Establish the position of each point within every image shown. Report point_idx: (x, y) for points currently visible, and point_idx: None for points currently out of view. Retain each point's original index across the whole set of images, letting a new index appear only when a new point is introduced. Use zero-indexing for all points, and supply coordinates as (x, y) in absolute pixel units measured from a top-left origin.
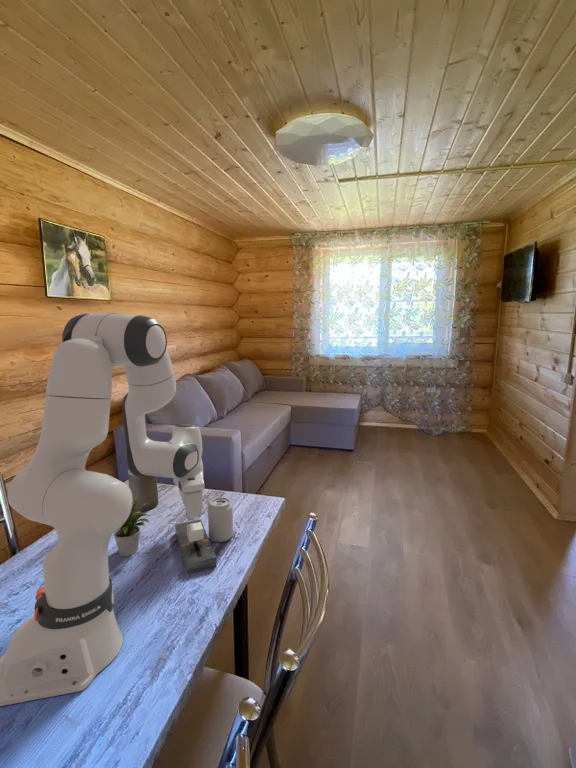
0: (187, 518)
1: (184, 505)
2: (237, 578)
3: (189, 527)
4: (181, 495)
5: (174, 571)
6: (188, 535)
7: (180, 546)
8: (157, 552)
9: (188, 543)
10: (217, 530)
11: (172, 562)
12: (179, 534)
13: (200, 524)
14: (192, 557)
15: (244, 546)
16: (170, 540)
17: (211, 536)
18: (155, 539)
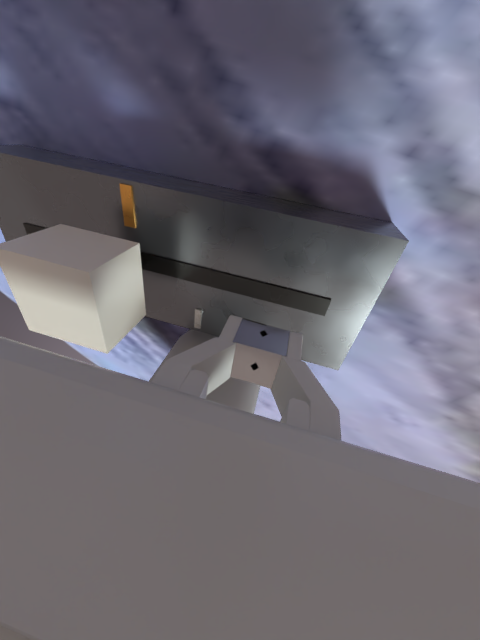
0: (242, 320)
1: (119, 404)
2: (4, 287)
3: (47, 272)
4: (424, 537)
5: (46, 90)
6: (62, 238)
7: (175, 184)
8: (255, 20)
9: (141, 227)
10: (158, 368)
11: (119, 103)
12: (257, 218)
13: (76, 340)
14: (22, 197)
15: (141, 372)
16: (337, 164)
17: (196, 335)
18: (443, 47)
